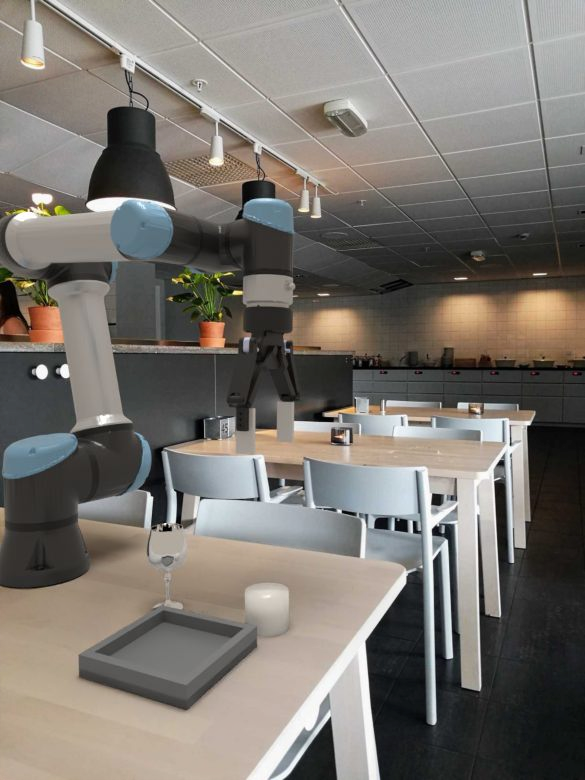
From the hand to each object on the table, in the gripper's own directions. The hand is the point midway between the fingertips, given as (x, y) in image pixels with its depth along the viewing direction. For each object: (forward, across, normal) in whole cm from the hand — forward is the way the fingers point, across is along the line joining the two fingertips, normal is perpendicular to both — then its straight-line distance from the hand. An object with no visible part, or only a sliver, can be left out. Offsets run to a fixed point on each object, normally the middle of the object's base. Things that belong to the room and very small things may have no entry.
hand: (266, 447), depth 88 cm
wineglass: (+24, -10, +11) cm, 28 cm away
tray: (+23, -22, +2) cm, 32 cm away
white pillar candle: (+23, -9, -5) cm, 25 cm away
